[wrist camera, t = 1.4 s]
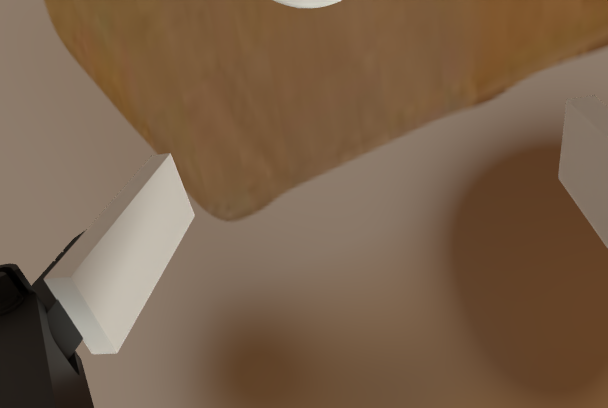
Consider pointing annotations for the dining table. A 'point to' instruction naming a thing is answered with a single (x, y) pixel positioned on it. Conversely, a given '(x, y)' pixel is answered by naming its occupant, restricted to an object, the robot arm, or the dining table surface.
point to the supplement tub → (307, 3)
